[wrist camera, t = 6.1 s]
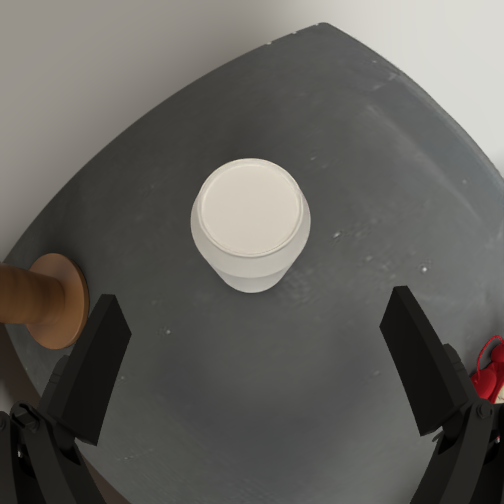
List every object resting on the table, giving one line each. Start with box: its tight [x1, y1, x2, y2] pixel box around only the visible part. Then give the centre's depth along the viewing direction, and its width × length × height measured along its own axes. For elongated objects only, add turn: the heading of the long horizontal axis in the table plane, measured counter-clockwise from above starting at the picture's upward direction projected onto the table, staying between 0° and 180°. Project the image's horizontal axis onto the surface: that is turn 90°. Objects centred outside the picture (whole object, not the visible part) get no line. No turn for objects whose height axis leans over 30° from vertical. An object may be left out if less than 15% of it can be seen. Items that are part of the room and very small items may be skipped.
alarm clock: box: [470, 335, 504, 439], centre depth 18 cm, size 10×6×15 cm
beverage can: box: [191, 158, 311, 293], centre depth 18 cm, size 6×6×12 cm
